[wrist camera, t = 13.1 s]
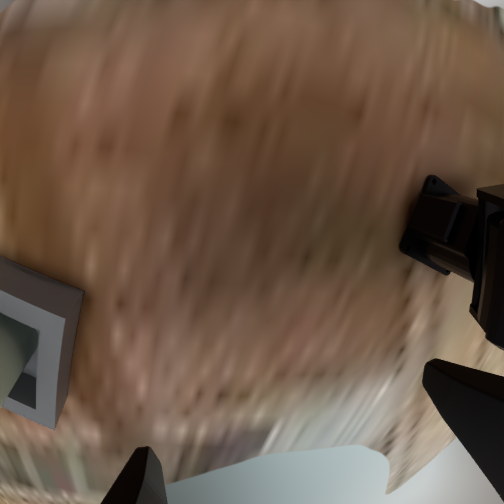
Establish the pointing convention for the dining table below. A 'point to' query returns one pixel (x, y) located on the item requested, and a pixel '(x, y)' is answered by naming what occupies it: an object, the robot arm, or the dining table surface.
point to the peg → (14, 352)
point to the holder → (41, 339)
